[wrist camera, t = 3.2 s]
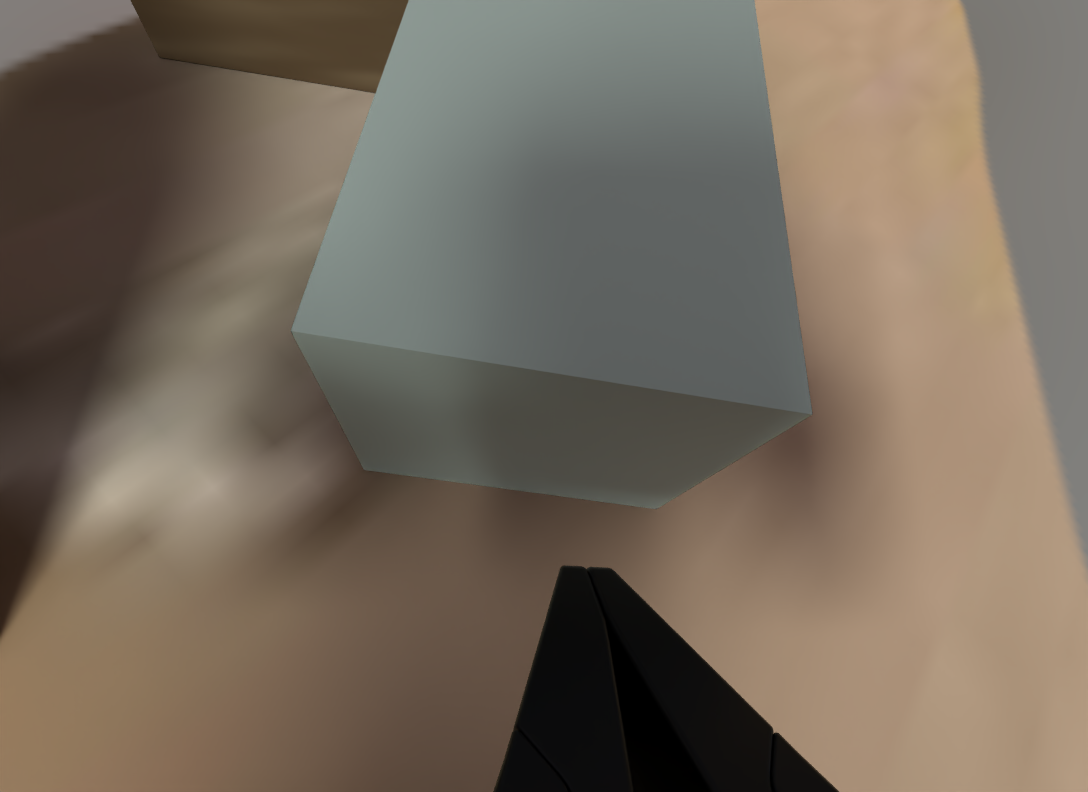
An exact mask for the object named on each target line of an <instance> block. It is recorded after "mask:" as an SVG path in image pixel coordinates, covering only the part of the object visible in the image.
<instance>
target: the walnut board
mask: <svg viewBox="0 0 1088 792" xmlns="http://www.w3.org/2000/svg"><path fill="white" fill-rule="evenodd" d="M408 1H409V0H131V2H132V4H133V6H134V8H135V10H136V12H137V14H138V16H139V18H140V20H141V22H142V24H143V26H144V28H145V30H146V32H147V34H148V36H149V38H150V40H151V41H152V43H153V45H154V47H155V49H156V51H157V53H158V55H159V57H162V58H168V59H174V60H180V61H186V62H192V63H198V64H204V65H210V66H216V67H222V68H228V69H234V70H240V71H247V72H253V73H259V74H265V75H271V76H277V77H283V78H289V79H295V80H301V81H307V82H313V83H319V84H325V85H332V86H338V87H344V88H350V89H356V90H362V91H368V92H374V93H376V91H377V88H378V85H379V82H380V79H381V77H382V74H383V71H384V68H385V65H386V63H387V60H388V57H389V54H390V51H391V49H392V46H393V43H394V40H395V37H396V35H397V32H398V29H399V26H400V23H401V21H402V18H403V15H404V12H405V9H406V7H407V4H408Z"/></svg>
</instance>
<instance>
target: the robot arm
mask: <svg viewBox="0 0 1088 792" xmlns="http://www.w3.org/2000/svg"><path fill="white" fill-rule="evenodd" d="M493 792H839V791H838V790H837V789H836V788H835V787H834V786H833V785H832V784H831V783H830V782H829V781H827V780H826V779H825V778H824V777H823V776H822V775H821V774H820V773H819V772H818V771H817V770H816V769H815V768H814V767H813V766H812V765H811V764H810V763H809V762H808V761H806V760H805V759H804V758H803V757H802V756H801V755H800V754H799V753H798V752H797V751H796V750H795V749H794V748H793V747H792V746H791V745H790V744H789V743H788V742H787V741H786V740H785V739H784V738H783V737H782V736H781V735H780V734H779V733H774V734H773V728H772V726H771V725H770V724H769V723H768V722H767V721H766V720H765V719H764V718H762V717H761V716H760V715H759V714H758V713H757V712H756V711H755V710H754V709H753V708H752V707H751V706H750V705H749V704H748V703H747V702H746V701H745V700H744V699H743V698H742V697H741V696H740V695H739V694H738V693H737V692H736V691H735V690H734V689H733V688H732V687H731V686H730V685H729V684H728V683H727V682H726V681H725V680H724V679H723V678H722V677H721V676H720V675H719V674H718V673H717V672H716V671H715V670H714V669H713V668H712V667H711V666H710V665H709V664H708V663H707V662H706V661H705V660H704V659H703V658H702V657H701V656H700V655H699V654H698V653H697V652H696V651H695V650H694V649H693V648H692V647H691V646H690V645H689V644H688V643H687V642H686V641H685V640H684V639H683V638H682V637H681V636H680V635H679V634H678V633H677V632H676V631H674V630H673V629H672V628H671V627H670V626H669V625H668V624H667V623H666V622H665V621H664V620H663V619H662V618H661V617H660V616H659V615H658V614H657V613H656V612H655V611H654V610H653V609H652V608H651V607H650V606H649V605H648V604H647V603H646V602H645V601H644V600H643V599H642V598H641V597H640V596H639V595H638V594H637V593H636V592H635V591H634V590H633V589H632V588H631V587H630V586H629V585H628V584H627V583H626V582H625V581H624V580H623V579H622V578H621V577H620V576H619V575H618V574H617V573H616V572H615V571H614V570H612V569H611V568H602V567H589V568H587V569H586V568H584V567H582V566H562V567H561V568H560V571H559V574H558V578H557V581H556V584H555V588H554V591H553V595H552V598H551V602H550V605H549V608H548V612H547V615H546V619H545V622H544V626H543V629H542V632H541V636H540V639H539V643H538V646H537V650H536V653H535V656H534V660H533V663H532V667H531V670H530V673H529V677H528V680H527V684H526V687H525V691H524V694H523V697H522V701H521V704H520V708H519V711H518V715H517V718H516V721H515V725H514V730H513V732H512V734H511V737H510V741H509V744H508V748H507V751H506V755H505V758H504V761H503V764H502V767H501V770H500V773H499V776H498V779H497V782H496V785H495V788H494V791H493Z"/></svg>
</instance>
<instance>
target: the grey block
mask: <svg viewBox="0 0 1088 792" xmlns="http://www.w3.org/2000/svg"><path fill="white" fill-rule="evenodd" d="M291 332H292V334H293V336H294V338H295V340H296V342H297V344H298V346H299V348H300V349H301V351H302V353H303V355H304V357H305V359H306V361H307V363H308V365H309V367H310V368H311V370H312V372H313V374H314V376H315V378H316V380H317V382H318V384H319V385H320V387H321V389H322V391H323V393H324V395H325V397H326V399H327V401H328V403H329V404H330V406H331V408H332V410H333V412H334V414H335V416H336V418H337V420H338V422H339V423H340V425H341V427H342V429H343V431H344V433H345V435H346V437H347V439H348V440H349V442H350V444H351V446H352V448H353V450H354V452H355V454H356V456H357V458H358V459H359V461H360V463H361V465H362V467H363V469H364V470H369V471H376V472H383V473H391V474H398V475H406V476H413V477H421V478H428V479H436V480H443V481H450V482H458V483H465V484H473V485H480V486H488V487H495V488H503V489H510V490H517V491H525V492H532V493H540V494H547V495H555V496H562V497H570V498H577V499H584V500H592V501H599V502H607V503H614V504H622V505H629V506H636V507H644V508H651V509H658V508H659V507H661V506H662V505H664V504H666V503H667V502H669V501H671V500H672V499H674V498H676V497H677V496H679V495H681V494H682V493H684V492H686V491H687V490H689V489H690V488H692V487H694V486H695V485H697V484H699V483H700V482H702V481H704V480H705V479H707V478H709V477H710V476H712V475H714V474H715V473H717V472H719V471H720V470H722V469H723V468H725V467H727V466H728V465H730V464H732V463H733V462H735V461H737V460H738V459H740V458H742V457H743V456H745V455H747V454H748V453H750V452H751V451H753V450H755V449H756V448H758V447H760V446H761V445H763V444H765V443H766V442H768V441H770V440H771V439H773V438H775V437H776V436H778V435H780V434H781V433H783V432H784V431H786V430H788V429H789V428H791V427H793V426H794V425H796V424H798V423H799V422H801V421H803V420H804V419H806V418H808V417H809V416H811V415H812V408H811V401H810V394H809V387H808V379H807V372H806V365H805V358H804V351H803V344H802V337H801V330H800V322H799V315H798V308H797V301H796V294H795V287H794V280H793V273H792V265H791V258H790V251H789V244H788V237H787V230H786V223H785V216H784V208H783V201H782V194H781V187H780V180H779V173H778V166H777V159H776V151H775V144H774V137H773V130H772V123H771V116H770V109H769V102H768V94H767V87H766V80H765V73H764V66H763V59H762V52H761V45H760V37H759V30H758V23H757V16H756V9H755V2H754V0H409V1H408V4H407V7H406V9H405V12H404V15H403V18H402V21H401V23H400V26H399V29H398V32H397V35H396V37H395V40H394V43H393V46H392V49H391V51H390V54H389V57H388V60H387V63H386V65H385V68H384V71H383V74H382V77H381V79H380V82H379V85H378V88H377V91H376V93H375V96H374V99H373V102H372V105H371V107H370V110H369V113H368V116H367V119H366V121H365V124H364V127H363V130H362V133H361V135H360V138H359V141H358V144H357V147H356V149H355V152H354V155H353V158H352V161H351V163H350V166H349V169H348V172H347V175H346V177H345V180H344V183H343V186H342V189H341V191H340V194H339V197H338V200H337V203H336V205H335V208H334V211H333V214H332V217H331V219H330V222H329V225H328V228H327V231H326V233H325V236H324V239H323V242H322V245H321V247H320V250H319V253H318V256H317V259H316V261H315V264H314V267H313V270H312V273H311V275H310V278H309V281H308V284H307V287H306V289H305V292H304V295H303V298H302V301H301V303H300V306H299V309H298V312H297V315H296V317H295V320H294V323H293V326H292V329H291Z"/></svg>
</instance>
